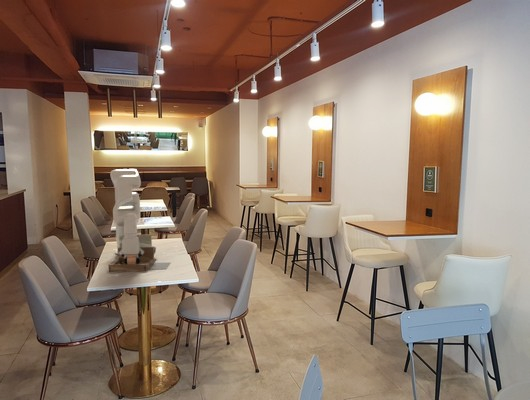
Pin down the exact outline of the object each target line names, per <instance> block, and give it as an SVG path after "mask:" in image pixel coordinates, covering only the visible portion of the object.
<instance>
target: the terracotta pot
mask: <svg viewBox="0 0 530 400" xmlns="http://www.w3.org/2000/svg"><path fill="white" fill-rule="evenodd" d="M126 257H127V264H136V259H137V257H136V255H126Z"/></svg>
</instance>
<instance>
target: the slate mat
mask: <svg viewBox="0 0 530 400" xmlns="http://www.w3.org/2000/svg"><path fill="white" fill-rule="evenodd" d="M170 264H172V262H154V263H153V264H152V265H151V266H150V267H149V269H148V270H150V271H152V270H167V268H168V267H169V266H170Z"/></svg>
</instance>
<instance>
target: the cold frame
mask: <svg viewBox="0 0 530 400" xmlns="http://www.w3.org/2000/svg"><path fill="white" fill-rule="evenodd" d="M137 237H138V238H139V242H140V248H141V249H142V250H143V251H144V253H143V254H142V255H141V256H140V263H139V264H125V259H124V258H123V257H122V256H121V255H120V254H119V252H120V251H121V250H122V242H123V238H124V236H122V235H119V243H120V247H119V248H118V254H117V255H118V258H117V259H116V260H115V261H114V262H113V263H111V264H108V266H107V267H108V273H112V272H115V273H116V272H118V273H119V272H147V271H148V270H149V269H150V268H151V267H152V265H153V264H154V263H155V254H154V247H155V246H153V245H152V244H153V243H152V242H153V241H152V239H153V238H152V234H137ZM152 246H153V247H152ZM140 254H141V251H140V252H139V255H140Z"/></svg>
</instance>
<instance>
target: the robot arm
mask: <svg viewBox="0 0 530 400" xmlns="http://www.w3.org/2000/svg"><path fill="white" fill-rule="evenodd" d="M109 174H110V179H111V181H112V185H113V187H114V199H115V203H114V206H113V209H112V217H113V223H114V225H115V235H116V236H115V237H116V250H115V251H114V254H115V255H118V248H119V247H120V243H119V235H122V236H124V238H123V242H122V250H121V251H120V252H119V254H120V255H121V256H122V257H123V258H124V259H125V263H124V264H127V257H126V255H136V257H137V259H136V264H141V263H140V256H141V255H142V254H143V253H144V251H143V250H142V249H141V248H140V242H139V238H138V237H137V235H138V225H137V224H138V223H139V220H140V219H141V203H140V202H141V200H140V194H139V193H138V192H137V191H133V189H139V188H140V187H141V184H142V181H141V177H140V174H139V172H138V170H137V168H129V169H127V168H123V169H121V168H120V169H113V170H111V171H110V173H109ZM140 251H141V254H140V255H139V252H140Z"/></svg>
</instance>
